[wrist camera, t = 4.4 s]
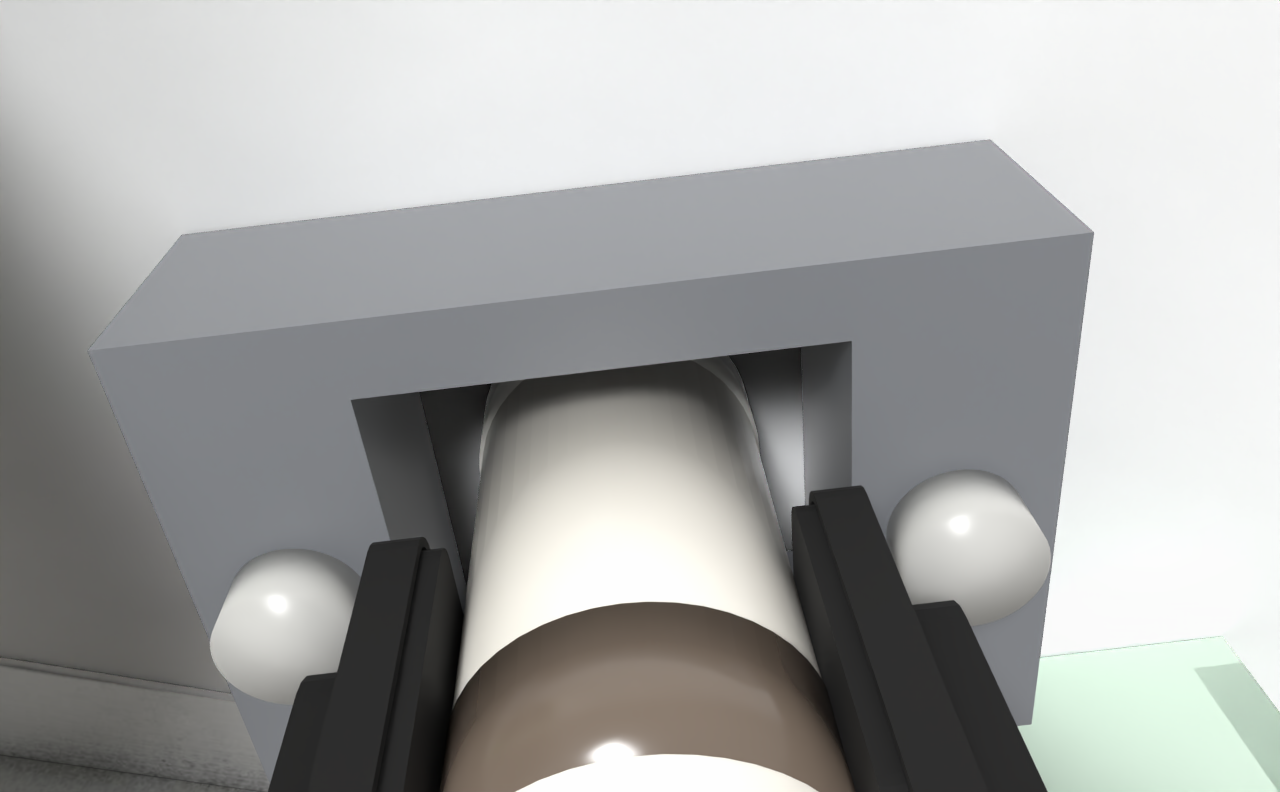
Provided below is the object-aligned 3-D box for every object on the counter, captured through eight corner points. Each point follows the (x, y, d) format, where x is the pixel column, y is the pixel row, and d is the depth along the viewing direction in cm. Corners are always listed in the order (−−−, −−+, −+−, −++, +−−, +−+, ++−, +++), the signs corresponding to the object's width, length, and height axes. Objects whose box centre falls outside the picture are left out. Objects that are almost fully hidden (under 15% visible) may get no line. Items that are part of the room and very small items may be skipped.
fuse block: (180, 234, 13) (53, 391, 10) (990, 139, 13) (1130, 265, 10) (325, 650, 17) (267, 866, 13) (959, 575, 17) (1055, 773, 13)
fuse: (461, 323, 14) (332, 1019, 6) (742, 290, 14) (959, 946, 6) (508, 543, 16) (451, 1285, 8) (754, 514, 16) (933, 1230, 8)
